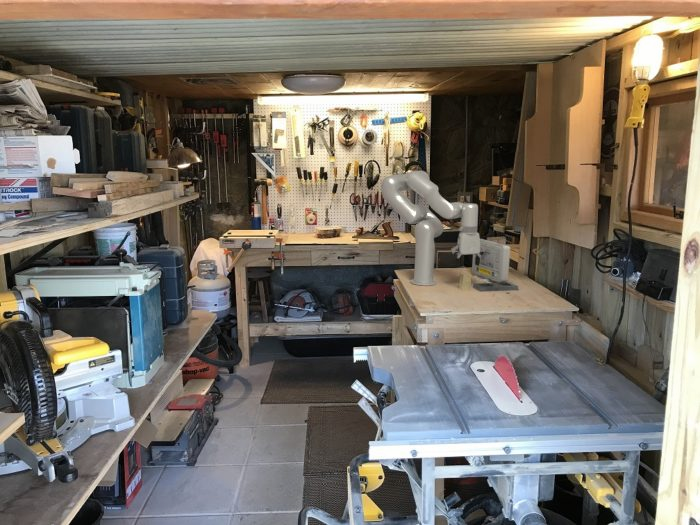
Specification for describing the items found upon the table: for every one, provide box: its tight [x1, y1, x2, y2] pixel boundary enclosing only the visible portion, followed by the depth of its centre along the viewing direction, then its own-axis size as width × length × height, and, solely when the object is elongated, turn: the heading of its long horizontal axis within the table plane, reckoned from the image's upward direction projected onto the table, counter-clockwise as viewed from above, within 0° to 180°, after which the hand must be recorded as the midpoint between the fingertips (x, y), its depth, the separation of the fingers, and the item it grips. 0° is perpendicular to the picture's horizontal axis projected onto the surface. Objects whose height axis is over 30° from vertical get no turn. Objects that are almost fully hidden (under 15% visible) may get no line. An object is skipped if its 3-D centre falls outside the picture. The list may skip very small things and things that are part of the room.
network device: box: [471, 238, 511, 283], centre depth 281 cm, size 26×9×20 cm, turn 22°
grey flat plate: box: [472, 281, 519, 292], centre depth 266 cm, size 8×20×2 cm, turn 103°
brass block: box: [458, 272, 472, 292], centre depth 262 cm, size 4×4×8 cm
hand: (467, 265), depth 260 cm, fingers open, 9 cm apart
